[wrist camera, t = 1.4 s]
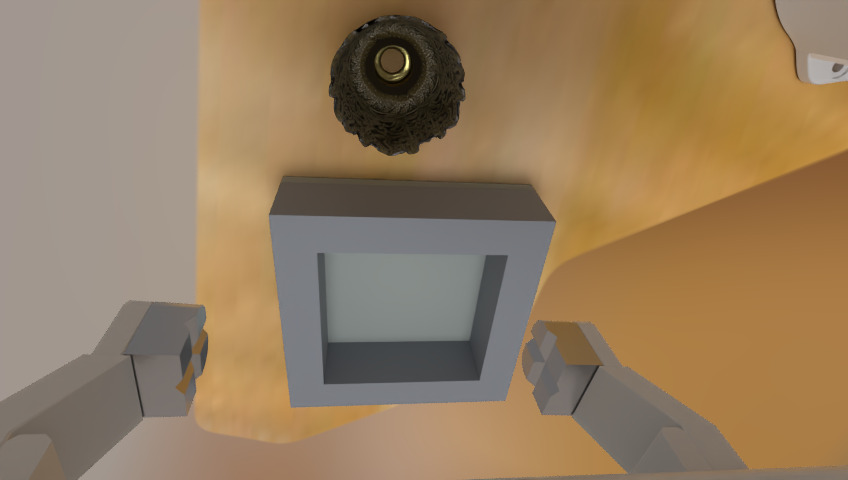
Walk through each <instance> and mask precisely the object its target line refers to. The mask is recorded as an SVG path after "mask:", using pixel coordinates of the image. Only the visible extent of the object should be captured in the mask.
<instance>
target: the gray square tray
mask: <svg viewBox="0 0 848 480" xmlns="http://www.w3.org/2000/svg"><path fill="white" fill-rule="evenodd" d="M269 221H270V230H271V239H272V247H273V256H274V265H275V273H276V282H277V291H278V300H279V308H280V317H281V326H282V334H283V343H284V352H285V361H286V369H287V378H288V387H289V395H290V404H291V407H322V406H354V405H385V404H415V403H448V402H478V401H505V400H506V396H507V393H508V389H509V386H510V382H511V378H512V375H513V372H514V368H515V365H516V361H517V358H518V354H519V350H520V347H521V344H522V340H523V337H524V333H525V330H526V326H527V323H528V319H529V316H530V312H531V309H532V305H533V301H534V298H535V294H536V291H537V287H538V284H539V280H540V277H541V273H542V270H543V266H544V263H545V259H546V256H547V252H548V249H549V245H550V242H551V238H552V235H553V231H554V228H555V224H556V221H555V219H554V218H553V216H552V215H551V213H550V212H549V210H548V209H547V207H546V206H545V204H544V203H543V202H542V200H541V199H540V197H539V196H538V194H537V193H536V191H535V190H534V188H533V187H532V185H521V184H492V183H463V182H434V181H405V180H376V179H347V178H318V177H289V176H283V178H282V181H281V183H280V186H279V189H278V192H277V194H276V197H275V200H274V202H273V205H272V208H271V210H270V213H269Z"/></svg>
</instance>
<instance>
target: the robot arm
mask: <svg viewBox="0 0 848 480" xmlns="http://www.w3.org/2000/svg"><path fill="white" fill-rule="evenodd" d="M775 1H776V8H777V12H778V16H779V19H780V21H781V24H782V26H783V28H784V29H785V31H786V32H787V34H788V35H789V37H790V38H791V40H792V41H793V43H794V45H795V48H796V66H797V74H798V77H799V79H800V80H801V81H802V82H804V83H809V84H815V85H820V84H827V83H834V82H841V81H848V0H775ZM834 64H835V65H834ZM833 65H834V66H833ZM832 67H833V68H832ZM205 321H206V312H205V307H204V306H203V305H197V304H182V303H166V302H146V301H131V300H130V301H128V302H127V303H125V304H124V305H123V306H122V308H121V309H120V311H119V313H118V314H117V316H116V317H115V319H114V321H113V322H112V323H111V325H110V327H109V328H108V330H107V331H106V333H105V334H104V336H103V337H102V339H101V341H100V342H99V344H98V345H97V347H96V348H95V350H94V351H93V353H92V354H91V355H87V354H86V355H82V356H80V357H78V358H76V359H75V360H73V361H71V362H69V363H68V364H66V365H64V366H62V367H61V368H59V369H57V370H55V371H54V372H52V373H50V374H49V375H46V376H45V377H43V378H41V379H39V380H38V381H36V382H34V383H32V384H31V385H29V386H27V387H25V388H24V389H22V390H20V391H18V392H17V393H15V394H13V395H11V396H10V397H8V398H6V399H5V400H3V401H1V402H0V480H78V478H80V477H81V476H82V475H83V474H84V473H85V472H86V471H87V470H88V469H90V468H91V467H92V466H93V465H94V464H95V463H96V462H97V461H98V460H99V459H101V458H102V457H103V456H104V455H105V454H106V453H107V452H108V451H109V450H110V449H112V448H113V447H114V446H115V445H116V444H117V443H118V442H119V441H120V440H121V439H123V438H124V437H125V436H126V435H127V434H128V433H129V432H130V431H131V430H132V429H133V428H134V427H136V426H137V425H138V424H139V423H140V422H141V421H142V420H143V417H172V416H173V417H174V416H187V415H188V412H189V409H190V407H191V404H192V401H193V398H194V395H195V393H196V384H195V379H197V378H198V377H199V376H200V375H202V372H203V369H204V366H205V362H206V357H207V351H208V334H207V332H206V331H205V330H204V329H203V326H204V323H205ZM531 333H532V335H533V337H534V338H533V339H532V340H530V341H529V342H528V343H526V345H525V348H524V350H523V354H522V366H523V371H524V374H525V376H526V379H527V380H528V381H529V382H530V383H532V384H533V385H534V386H535V388H534V391H533V395H534V398H535V400H536V402H537V405H538V407H539V409H540V412H541V414H542V415H571V416H572V418H573V419H574V420H575V421H576V422H577V423H578V424H579V425H580V426H581V427H582V428H583V429H584V430H585V431H586V432H587V433H588V434H589V435H590V436H591V437H592V438H593V439H594V440H596V442H597V443H598V444H599V445H600V446H601V447H602V448H603V449H604V450H605V451H606V452H607V453H609V455H610V456H611V457H612V458H613V459H614V460H615V461H616V462H617V463H618V464H619V465H620V466H621V467H622V468H623V469H624V470H625V471H626V472H627V473H628V474H605V475H604V474H603V475H577V476H576V475H575V476H552V477H551V476H550V477H524V478H523V477H522V478H498V479H497V478H496V479H470V480H848V465H846V466H822V467H821V466H820V467H797V468H796V467H795V468H770V469H749V468H748V467H747V466H746V465H745V464H744V462H743V461H742V459H741V458H740V457H739V456H738V455H737V453H736V452H735V451H734V449H733V448H732V447H731V445H730V444H729V443H728V442H727V440H726V439H725V438H724V436H723V435H722V434H721V433H720V431H719V430H718V429H717V427H716V426H715V425H713V424H712V423H710V422H709V421H708V420H706V419H704V418H703V417H702V416H700V415H699V414H697V413H696V412H694V411H693V410H691V409H690V408H688V407H687V406H685V405H684V404H682V403H681V402H679V401H678V400H676V399H675V398H673V397H672V396H670V395H669V394H668V393H666V392H665V391H663V390H661V389H660V388H658V387H657V386H656V385H654V384H653V383H651V382H650V381H648V380H647V379H645V378H644V377H642V376H641V375H639V374H638V373H636V372H635V371H633V370H632V369H630V368H629V367H623V366H622V365H621V363H620V362H619V360H618V359H617V357H616V356H615V354H614V353H613V351H612V350H611V348H610V347H609V346H608V344H607V343H606V341H605V340H604V338H603V337H602V335H601V334H600V332H599V331H598V329H597V328H596V326H595V325H594V324H592V323H591V322H576V321H573V322H567V321H541V320H538V321H537V322H536V323H535V324H534V325H533V328H532V330H531Z"/></svg>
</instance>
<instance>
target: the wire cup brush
mask: <svg viewBox="0 0 848 480" xmlns="http://www.w3.org/2000/svg"><path fill="white" fill-rule="evenodd" d="M446 38H447V36H446V35H445V34H444V33H443V32H442V31H440V30H437V29H436V28H434V27H433V26H431V25H430V24H429V23H427V22H425V21H423V20H421V19H419V18H416V17H411V16H400V15H389V16H381V17H379V18H376V19H374V20H371V21H369V22H367V23H365V24H364V25H362V26H361V27H359V28H358V29H357V30H354V31H353V32H352V33H351V34H350V35H349V36H348V37H347V38H346V39H345V41H344V42H343V44H342V46H341V47H340V48H339V50H338V51H337V53H336V55H335V56H334V59H333V61H332V64H331V73H330V75H331V84H330V86H329V96H330V97H333V98H334V112H335V115H336V117H337V119H338V120H339V121H340V122H341V121H342V125H343V126H344V128H345V131H346V132H349V133H352V134H353V135H356V134H357V135H358V137H359V141H360V142H361V143H362V145H363V146H364V147H367V146H369V145H372V146H374V147H375V148H377V150H378V151H380V152H382V153H384V154H386V155H388V156H395V155H398V154H402V153H405V152H407V153H408V154H415V153H417V152H418V151H419V146H420V144H422V143H424V142H429V141H430V140H431V139H432V138H434V137H438V138H439V139H442V138H443V137H444V136H445V134H446V130H447V129H449V128H452V127H454V126H455V125H456V124H457V122H458V120H459V106H460V101H464V100H465V89H464V88H463V86H462V84H461V83H462V82H463V81H464V75H465V73H464V69H463V67H462V64H461V63H460V61H461V59H460V56H459V54H458V52H457V51H456V49H455V48H454V47H453V46H452V45H451V44H450V43H449V42H448V41H447V39H446ZM391 48H393V49H397V50H399V51H400V52H401V53H402V55H403V57H404V65H403V68H402V69H401V70H400V71H399V72H397V73H388V72H386V71H385V70H384V69H383V68H382V66H381V61H380V60H381V56H382V54H383V52H384V51H386V50H387V49H391Z"/></svg>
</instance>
